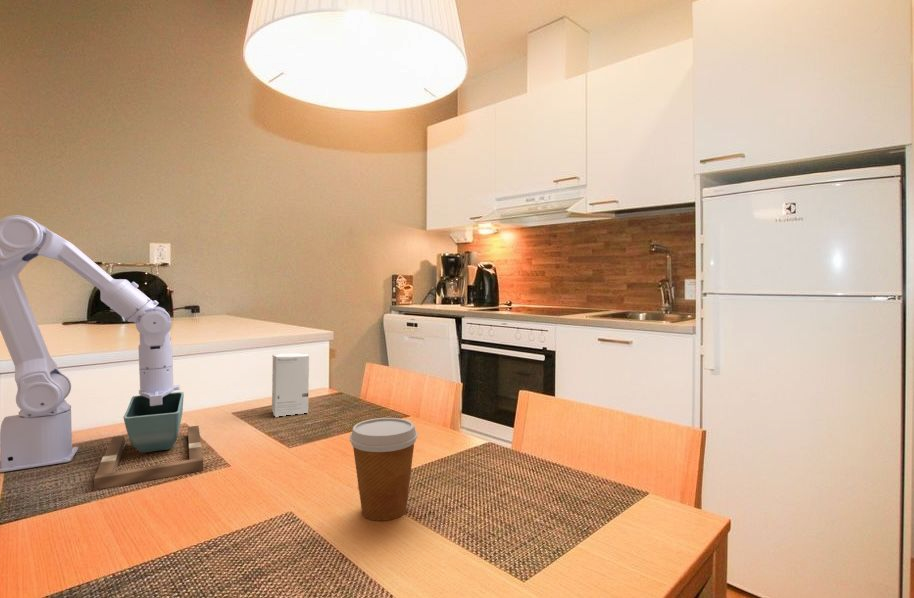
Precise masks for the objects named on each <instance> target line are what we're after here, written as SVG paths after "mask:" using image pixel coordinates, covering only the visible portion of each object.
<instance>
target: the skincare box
mask: <svg viewBox="0 0 914 598" xmlns="http://www.w3.org/2000/svg"><path fill="white" fill-rule="evenodd" d="M271 375H272V376H271V377H272V379H271V380H272V381H271V382H272V383H271V384H272V389H271V393H272V395H271V412H273V413H272V414H273V417H274V416H275V417H274V418H280V417H279V416H283V417H287V416H286V415H291V416H296V415H295V414H298V415H305V414H304V413H307V414H309V388H310V384H309V379H310V377H309V376H310V355H309V354H307V353H279V354H272V374H271Z"/></svg>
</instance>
